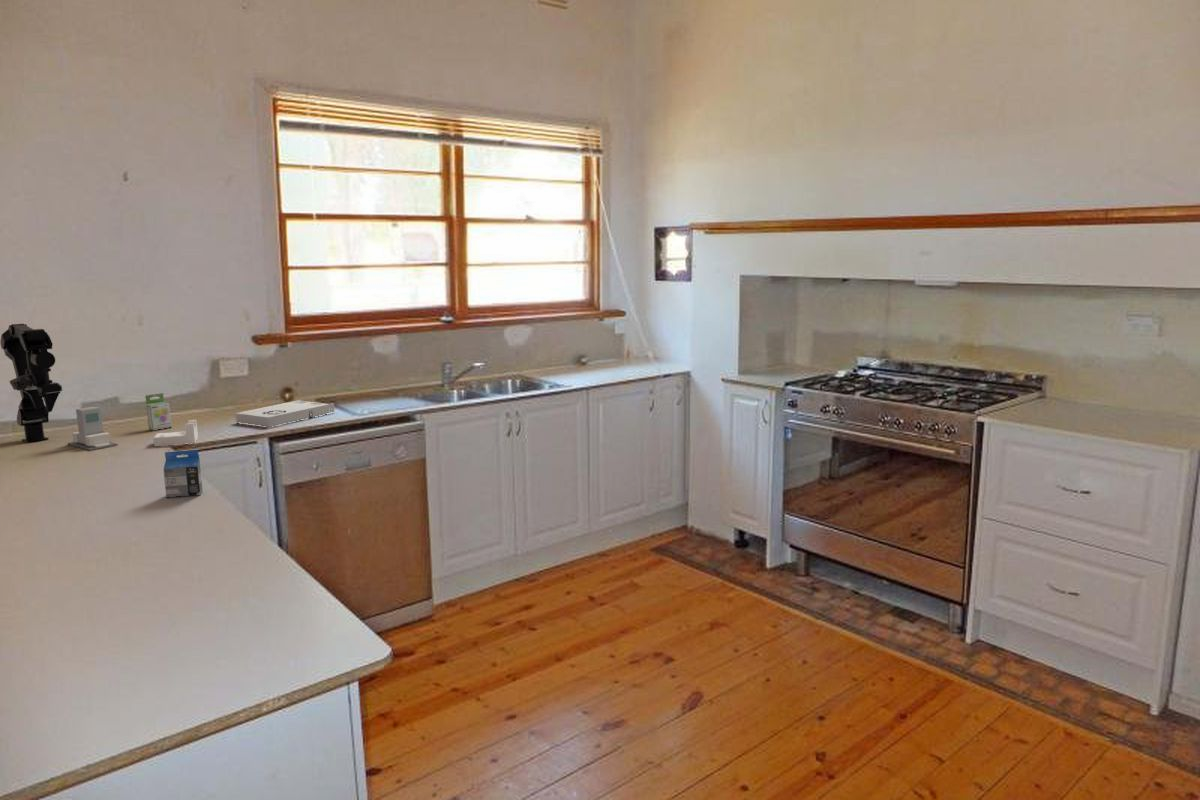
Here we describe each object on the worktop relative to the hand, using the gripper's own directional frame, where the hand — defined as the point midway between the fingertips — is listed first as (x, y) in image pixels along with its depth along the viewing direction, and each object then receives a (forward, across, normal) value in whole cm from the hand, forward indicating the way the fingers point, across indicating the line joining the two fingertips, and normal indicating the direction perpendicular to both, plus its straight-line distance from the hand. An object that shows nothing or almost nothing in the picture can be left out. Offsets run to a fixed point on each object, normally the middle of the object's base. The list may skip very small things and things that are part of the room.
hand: (43, 410), depth 289 cm
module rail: (+13, +10, +10) cm, 19 cm away
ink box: (+13, +4, +37) cm, 39 cm away
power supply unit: (+14, +28, +76) cm, 82 cm away
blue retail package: (+13, +97, -4) cm, 98 cm away
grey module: (+12, +10, +10) cm, 18 cm away
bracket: (+14, +33, +28) cm, 45 cm away
